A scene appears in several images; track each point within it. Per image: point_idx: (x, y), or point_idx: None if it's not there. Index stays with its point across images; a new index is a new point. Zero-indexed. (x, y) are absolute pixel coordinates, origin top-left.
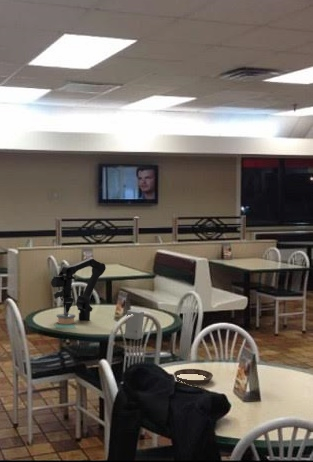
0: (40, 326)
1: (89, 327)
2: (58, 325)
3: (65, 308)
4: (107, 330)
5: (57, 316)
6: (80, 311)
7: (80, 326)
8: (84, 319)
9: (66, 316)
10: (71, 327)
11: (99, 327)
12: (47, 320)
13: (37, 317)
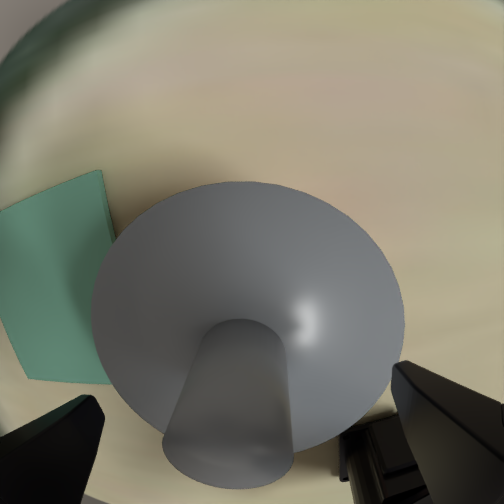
0: (50, 55)
1: (116, 457)
2: (57, 229)
3: (178, 442)
4: (90, 495)
5: (152, 206)
6: (385, 495)
7: (122, 418)
8: (347, 462)
9: (147, 360)
10: (32, 347)
11: (141, 494)
12: (376, 67)
13: (477, 6)
